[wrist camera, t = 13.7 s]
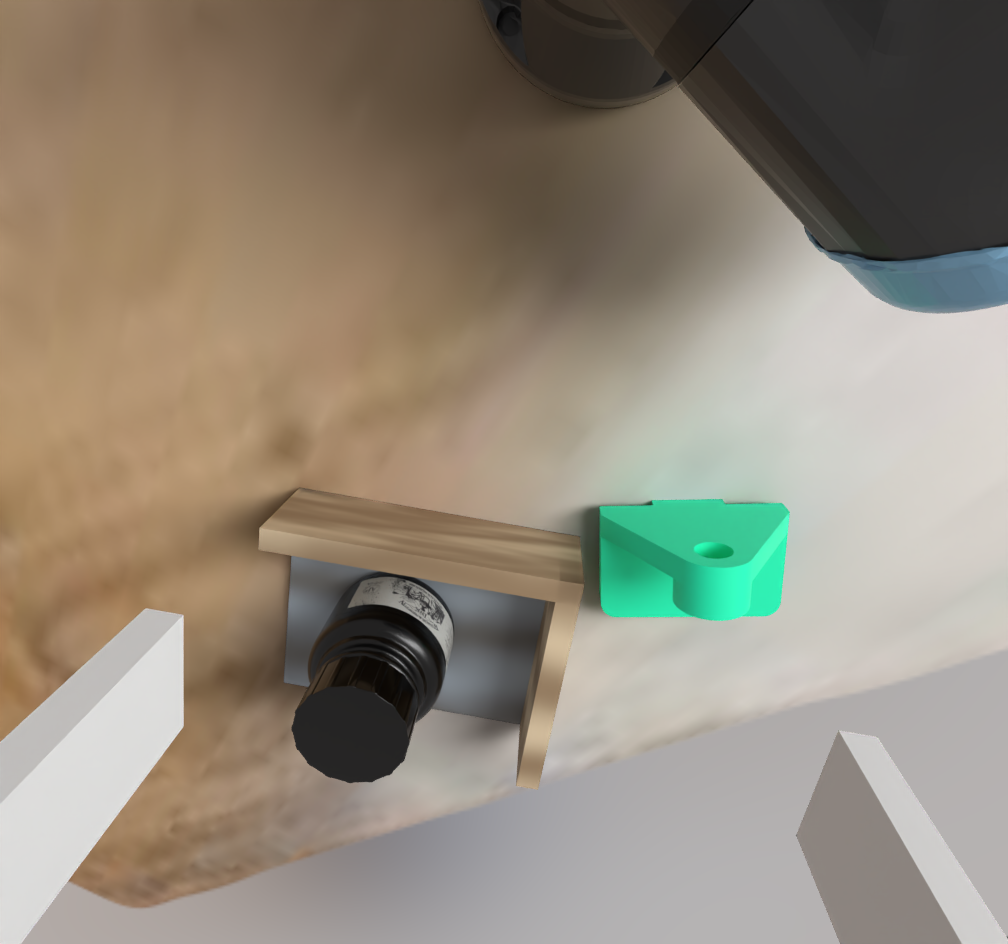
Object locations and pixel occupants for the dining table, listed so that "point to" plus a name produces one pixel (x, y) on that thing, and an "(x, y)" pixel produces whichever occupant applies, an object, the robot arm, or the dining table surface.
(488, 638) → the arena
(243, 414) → the dining table surface
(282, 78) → the dining table surface
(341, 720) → the ink bottle
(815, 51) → the robot arm
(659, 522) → the camera mount
